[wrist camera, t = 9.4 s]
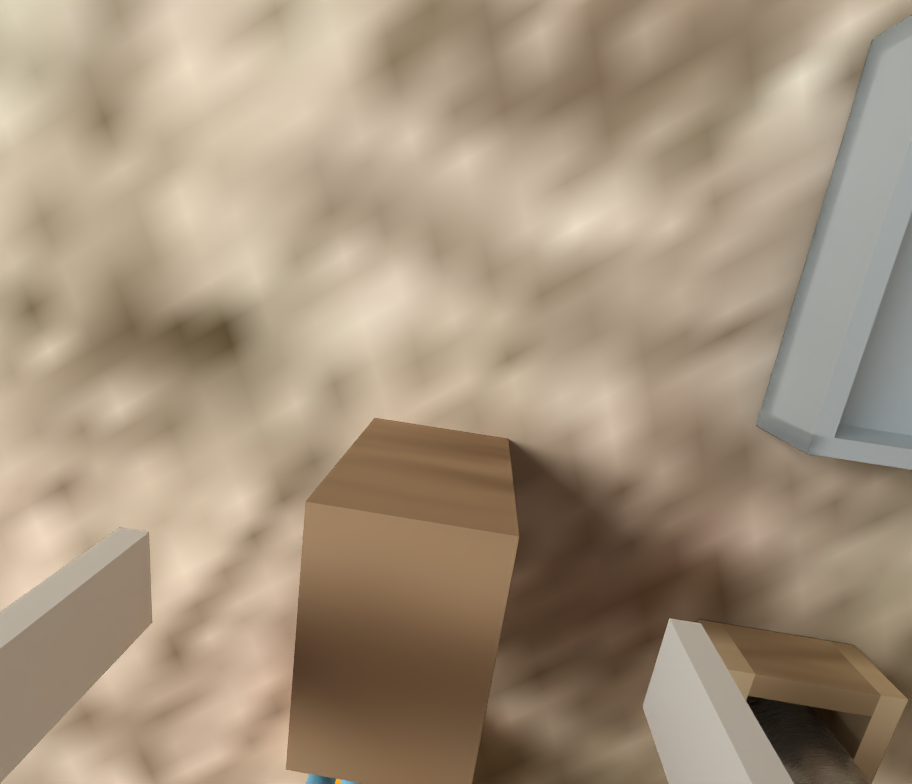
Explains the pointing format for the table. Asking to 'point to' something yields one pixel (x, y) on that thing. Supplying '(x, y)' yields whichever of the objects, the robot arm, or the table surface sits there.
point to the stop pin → (805, 743)
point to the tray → (857, 286)
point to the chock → (402, 606)
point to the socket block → (816, 684)
